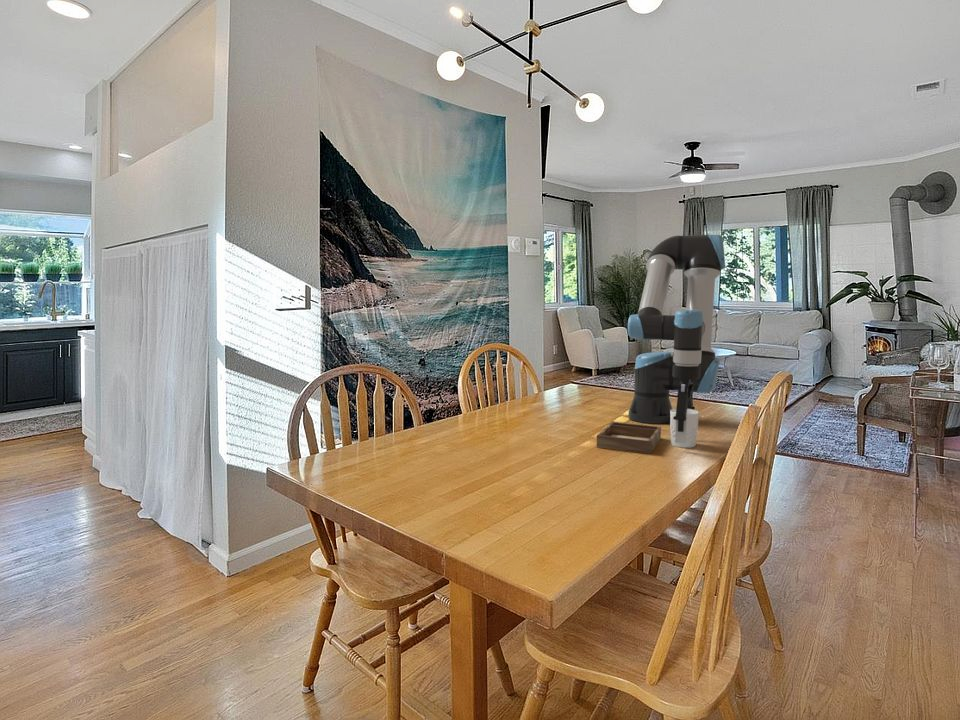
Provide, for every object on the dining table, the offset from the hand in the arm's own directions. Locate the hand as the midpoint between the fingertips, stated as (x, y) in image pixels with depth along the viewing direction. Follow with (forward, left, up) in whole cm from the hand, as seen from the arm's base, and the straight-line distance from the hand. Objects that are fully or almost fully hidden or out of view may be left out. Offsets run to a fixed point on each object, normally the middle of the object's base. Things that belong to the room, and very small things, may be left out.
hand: (683, 436), depth 164 cm
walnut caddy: (+4, -15, -2) cm, 15 cm away
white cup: (0, 0, -3) cm, 3 cm away
